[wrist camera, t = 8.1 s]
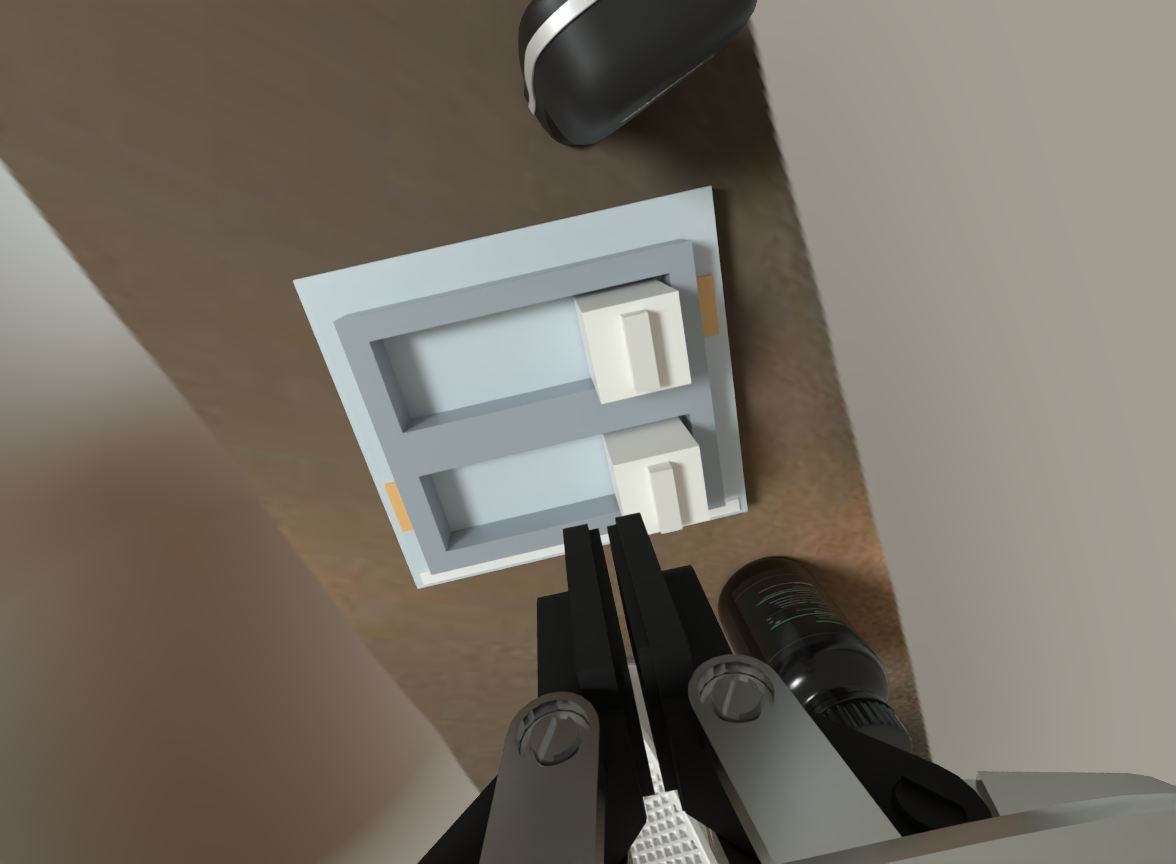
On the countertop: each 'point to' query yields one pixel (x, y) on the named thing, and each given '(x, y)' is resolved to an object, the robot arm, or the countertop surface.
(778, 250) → the countertop surface
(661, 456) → the tab
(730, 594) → the supplement bottle
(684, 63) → the battery charger
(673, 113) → the countertop surface
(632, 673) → the skyscraper
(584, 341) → the tab
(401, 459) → the switch bank
